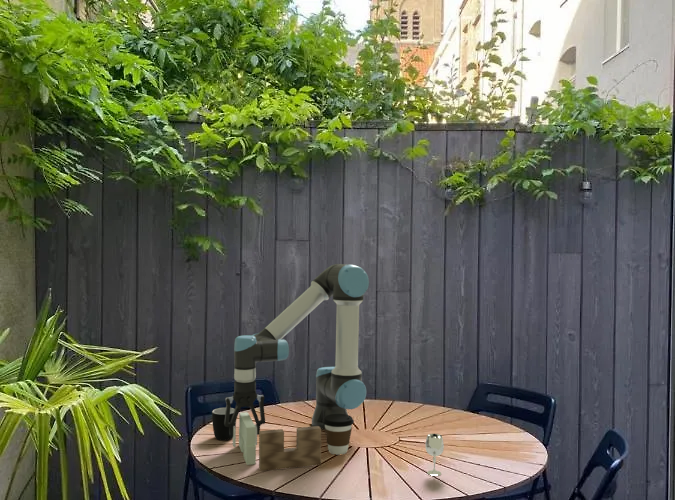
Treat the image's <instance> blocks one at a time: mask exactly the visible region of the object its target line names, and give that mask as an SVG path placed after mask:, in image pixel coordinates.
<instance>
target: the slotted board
mask: <svg viewBox="0 0 675 500" xmlns="http://www.w3.org/2000/svg"><path fill="white" fill-rule="evenodd" d="M258 436H259V437H258V469H259V471H260V472H264V471H267V472H268V471H275V470H284V469H294V468H303V466H306V467H313V466H312V465H316V466H321V465H322V429H321V428H320V427H319V426H303V427H301V426H300V427H296V438H295V439H296V440H295V441H296V443H295V444H296V446H295V447H288V448H285V431H284V430H283V429H282V428H279V429H266V430H260V431H259V435H258Z"/></svg>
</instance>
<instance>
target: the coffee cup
mask: <svg viewBox="0 0 675 500" xmlns="http://www.w3.org/2000/svg"><path fill="white" fill-rule="evenodd" d="M354 422H355V420H354V417H352V416H351V415H349V414H348V415H345V414H331V415H327V416H325V417H324V419H323V424H325V430H324V433H325V439H326V444H327V449H328V452H329V453H330V454H331V455H334V454H336V455H335V456H341V455H340V454H342V455H345V454H347V452H348V449H349V445H350V441H351V434H352V426H353V425H354Z"/></svg>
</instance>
